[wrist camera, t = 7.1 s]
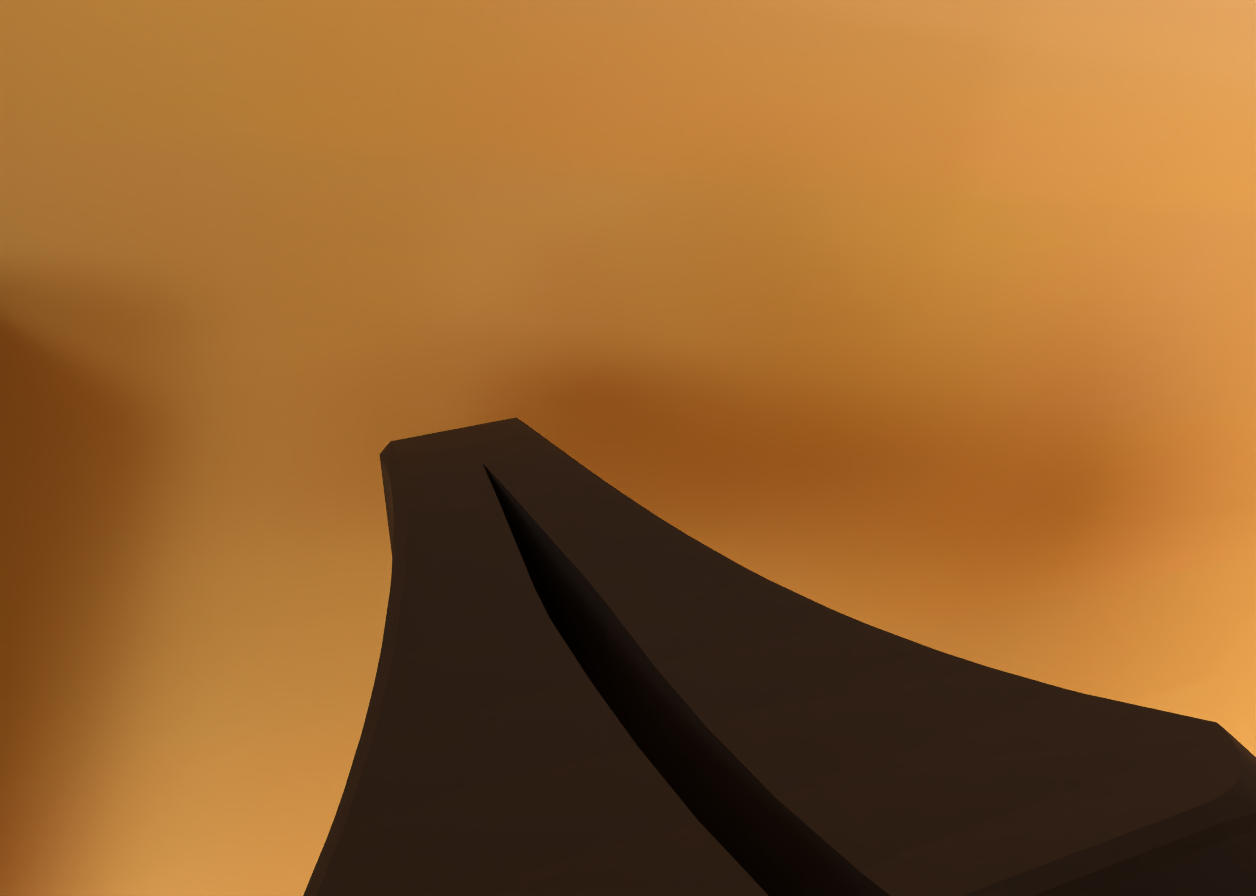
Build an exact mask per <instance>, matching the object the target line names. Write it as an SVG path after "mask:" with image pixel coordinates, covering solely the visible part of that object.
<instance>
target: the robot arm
mask: <svg viewBox="0 0 1256 896" xmlns="http://www.w3.org/2000/svg"><path fill="white" fill-rule="evenodd" d="M380 461H381V469H382V477H383V485H384V493H385V501H386V509H387V518H388V526H389V534H390V542H391V550H392V577H391V587H390V595H389V602H388V608H387V615H386V622H385V629H384V636H383V642H382V648H381V654H380V659H379V663H378V668H377V673H376V678H375V682H374V687H373V691H372V695H371V699H370V703H369V707H368V711H367V715H366V719H365V723H364V727H363V730H362V734H361V738H360V741H359V744H358V747H357V750H356V754H355V757H354V760H353V763H352V767H351V770H350V773H349V776H348V779H347V783H346V786H345V789H344V792H343V795H342V798H341V801H340V804H339V807H338V810H337V812H336V815H335V818H334V821H333V824H332V826H331V829H330V832H329V834H328V837H327V839H326V842H325V844H324V847H323V849H322V851H321V854H320V856H319V859H318V861H317V864H316V866H315V868H314V871H313V873H312V876H311V878H310V881H309V883H308V885H307V888H306V890H305V893H304V895H303V896H1256V757H1255V756H1254V755H1253V754H1251V753H1250V752H1249V751H1248V750H1247V749H1246V748H1245V747H1244V746H1243V745H1242V744H1241V743H1240V742H1238V741H1237V740H1236V739H1235V738H1234V737H1233V736H1232V735H1231V734H1229V733H1228V732H1227V731H1226V730H1225V729H1224V728H1223V727H1221V726H1220V725H1219V724H1218V723H1216V722H1211V721H1207V720H1202V719H1198V718H1193V717H1188V716H1184V715H1179V714H1175V713H1170V712H1165V711H1161V710H1156V709H1152V708H1147V707H1143V706H1138V705H1133V704H1129V703H1124V702H1120V701H1115V700H1110V699H1106V698H1101V697H1097V696H1092V695H1087V694H1083V693H1079V692H1075V691H1071V690H1067V689H1063V688H1060V687H1056V686H1053V685H1049V684H1046V683H1042V682H1039V681H1035V680H1032V679H1028V678H1025V677H1021V676H1018V675H1014V674H1011V673H1007V672H1003V671H1000V670H996V669H993V668H990V667H986V666H983V665H980V664H977V663H974V662H971V661H968V660H965V659H962V658H959V657H955V656H952V655H949V654H946V653H943V652H940V651H937V650H934V649H932V648H929V647H926V646H924V645H921V644H918V643H916V642H913V641H910V640H908V639H905V638H902V637H900V636H897V635H894V634H892V633H889V632H886V631H883V630H881V629H878V628H875V627H873V626H870V625H868V624H865V623H863V622H860V621H858V620H856V619H853V618H851V617H848V616H846V615H843V614H841V613H839V612H836V611H834V610H832V609H829V608H827V607H825V606H823V605H821V604H819V603H817V602H814V601H812V600H810V599H808V598H806V597H804V596H802V595H799V594H797V593H795V592H793V591H791V590H789V589H787V588H785V587H782V586H780V585H778V584H776V583H774V582H772V581H770V580H768V579H766V578H764V577H762V576H760V575H758V574H756V573H754V572H752V571H750V570H748V569H746V568H744V567H743V566H741V565H739V564H737V563H735V562H734V561H732V560H730V559H728V558H727V557H725V556H723V555H721V554H720V553H718V552H716V551H714V550H713V549H711V548H709V547H707V546H706V545H704V544H702V543H700V542H699V541H697V540H695V539H693V538H692V537H690V536H688V535H686V534H685V533H683V532H682V531H680V530H678V529H677V528H675V527H674V526H672V525H670V524H669V523H667V522H665V521H664V520H662V519H661V518H659V517H658V516H656V515H654V514H653V513H651V512H650V511H648V510H647V509H645V508H644V507H642V506H641V505H639V504H638V503H636V502H635V501H633V500H632V499H630V498H629V497H627V496H626V495H624V494H623V493H621V492H620V491H618V490H617V489H615V488H614V487H612V486H611V485H609V484H608V483H607V482H605V481H604V480H602V479H601V478H599V477H598V476H597V475H595V474H594V473H592V472H591V471H590V470H588V469H587V468H585V467H584V466H583V465H581V464H580V463H578V462H577V461H576V460H574V459H573V458H572V457H570V456H569V455H567V454H566V453H565V452H563V451H562V450H561V449H559V448H558V447H556V446H555V445H554V444H552V443H551V442H550V441H548V440H547V439H545V438H544V437H543V436H541V435H540V434H539V433H537V432H536V431H534V430H533V429H532V428H530V427H529V426H528V425H526V424H525V423H523V422H522V421H520V420H519V419H518V418H512V419H506V420H501V421H496V422H491V423H485V424H480V425H475V426H469V427H464V428H459V429H454V430H448V431H443V432H438V433H433V434H427V435H422V436H417V437H411V438H406V439H401V440H396V441H391V442H390V443H389V444H388V445H387V446H386V447H385V449H384V450H383V451H382V452H381V453H380Z"/></svg>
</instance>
